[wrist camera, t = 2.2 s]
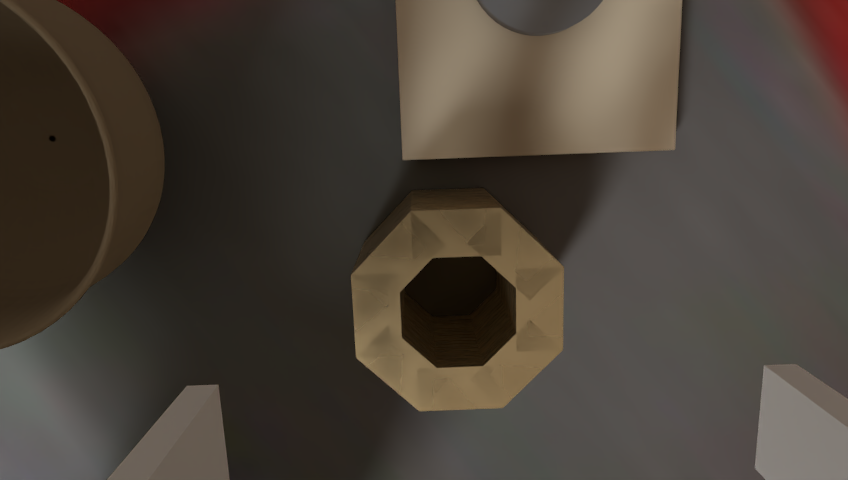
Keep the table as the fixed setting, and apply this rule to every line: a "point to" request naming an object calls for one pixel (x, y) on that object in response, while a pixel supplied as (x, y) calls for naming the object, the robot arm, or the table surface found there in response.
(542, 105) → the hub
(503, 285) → the collar
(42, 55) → the bowl
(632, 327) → the table surface
